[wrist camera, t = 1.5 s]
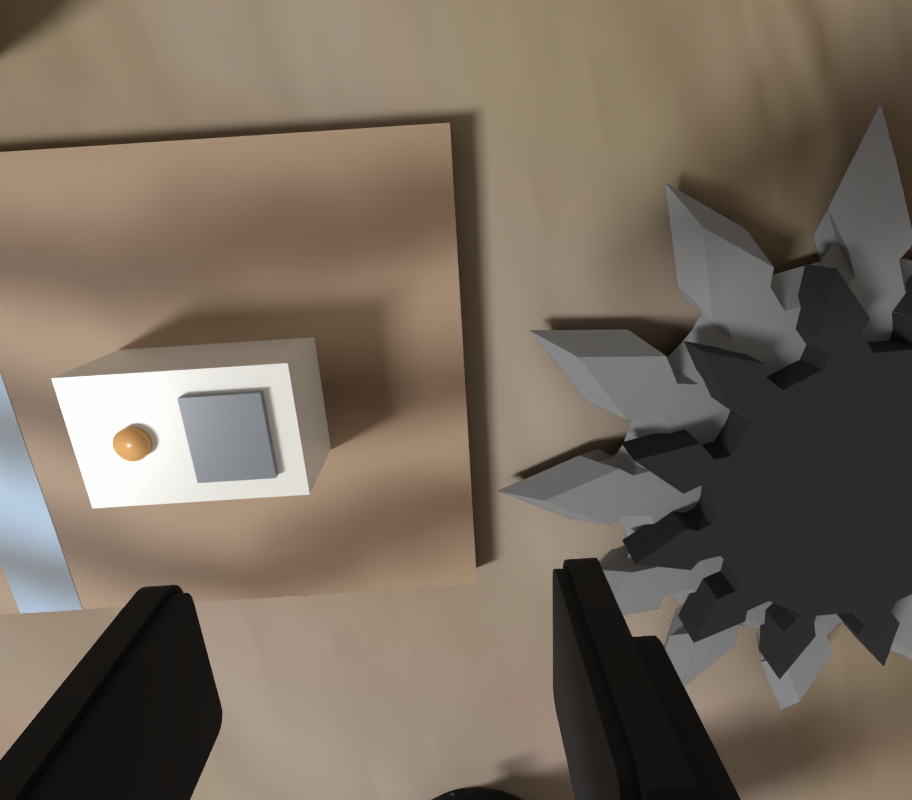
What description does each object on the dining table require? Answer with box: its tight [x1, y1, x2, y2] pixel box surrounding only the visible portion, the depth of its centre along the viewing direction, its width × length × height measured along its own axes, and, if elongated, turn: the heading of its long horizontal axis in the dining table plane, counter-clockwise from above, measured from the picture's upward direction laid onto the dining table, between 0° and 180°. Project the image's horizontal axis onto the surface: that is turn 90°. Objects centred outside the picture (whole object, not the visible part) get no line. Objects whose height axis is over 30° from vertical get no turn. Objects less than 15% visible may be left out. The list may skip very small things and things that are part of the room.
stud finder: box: [51, 337, 331, 509], centre depth 21 cm, size 5×8×4 cm, turn 94°
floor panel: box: [0, 123, 477, 614], centre depth 24 cm, size 20×29×1 cm
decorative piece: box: [499, 104, 912, 710], centre depth 24 cm, size 30×4×30 cm
